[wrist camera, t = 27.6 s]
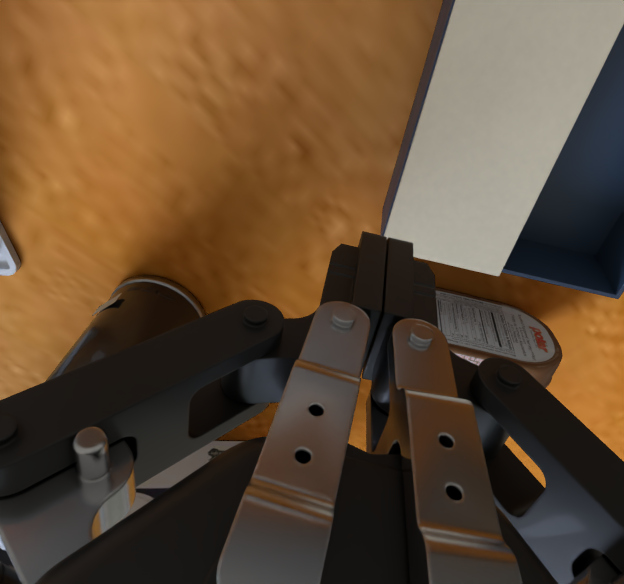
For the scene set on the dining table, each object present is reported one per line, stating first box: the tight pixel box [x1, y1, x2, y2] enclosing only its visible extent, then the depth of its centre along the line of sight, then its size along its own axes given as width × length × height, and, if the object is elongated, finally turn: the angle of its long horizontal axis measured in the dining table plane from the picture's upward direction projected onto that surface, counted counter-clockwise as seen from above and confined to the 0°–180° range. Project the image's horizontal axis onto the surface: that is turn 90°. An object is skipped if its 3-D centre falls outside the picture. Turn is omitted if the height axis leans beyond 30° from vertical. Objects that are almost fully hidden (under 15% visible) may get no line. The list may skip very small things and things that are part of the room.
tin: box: [435, 287, 562, 388], centre depth 40 cm, size 15×3×8 cm, turn 80°
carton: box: [380, 0, 624, 299], centre depth 32 cm, size 18×17×5 cm
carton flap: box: [384, 0, 624, 276], centre depth 29 cm, size 18×8×1 cm, turn 170°
